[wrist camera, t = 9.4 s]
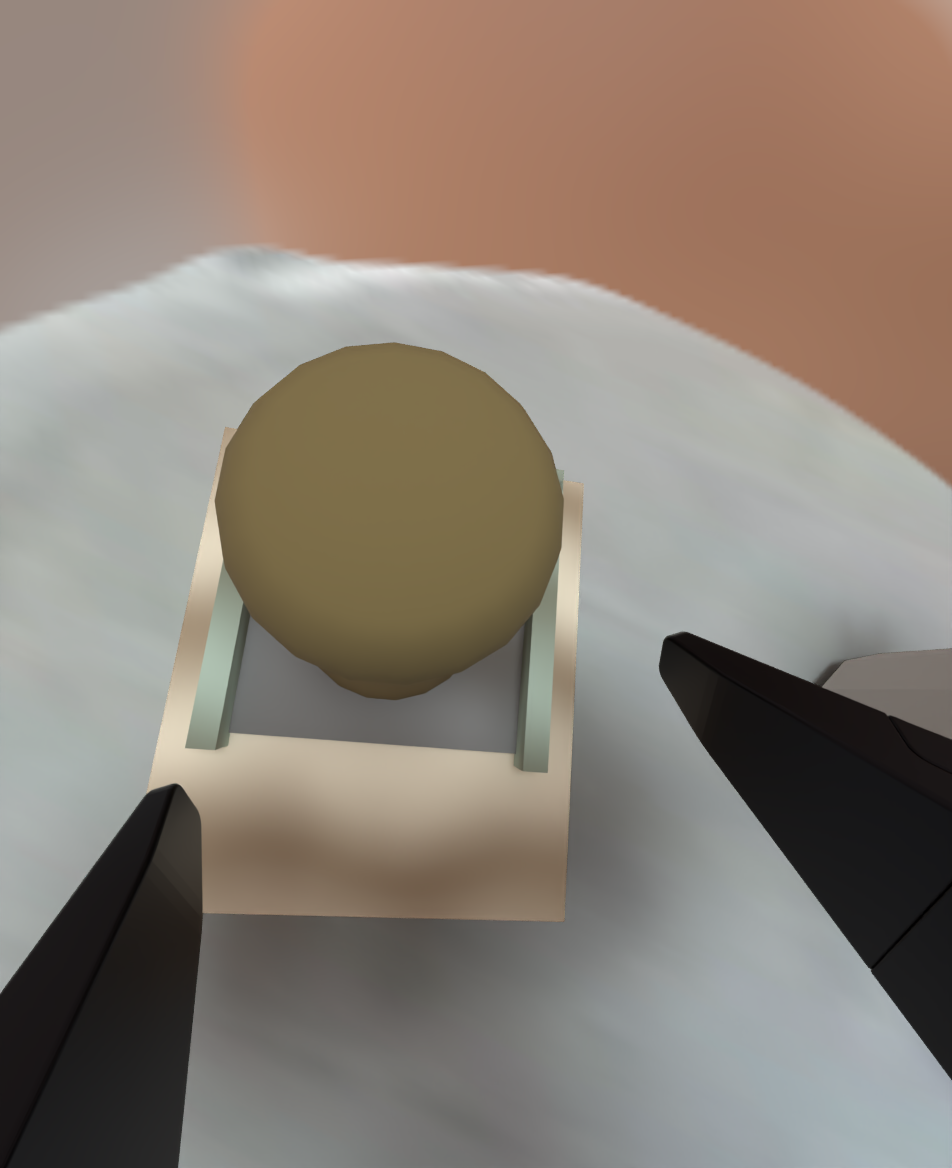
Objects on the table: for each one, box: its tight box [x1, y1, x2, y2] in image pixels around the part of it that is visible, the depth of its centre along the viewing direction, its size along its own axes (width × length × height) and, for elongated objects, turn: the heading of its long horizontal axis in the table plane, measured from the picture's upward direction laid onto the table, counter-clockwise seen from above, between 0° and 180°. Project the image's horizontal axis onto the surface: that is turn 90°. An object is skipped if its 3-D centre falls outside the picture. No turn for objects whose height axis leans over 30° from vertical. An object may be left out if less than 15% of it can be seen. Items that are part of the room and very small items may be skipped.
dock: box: [146, 427, 584, 922], centre depth 17 cm, size 15×13×4 cm
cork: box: [214, 342, 564, 700], centre depth 12 cm, size 6×6×11 cm
